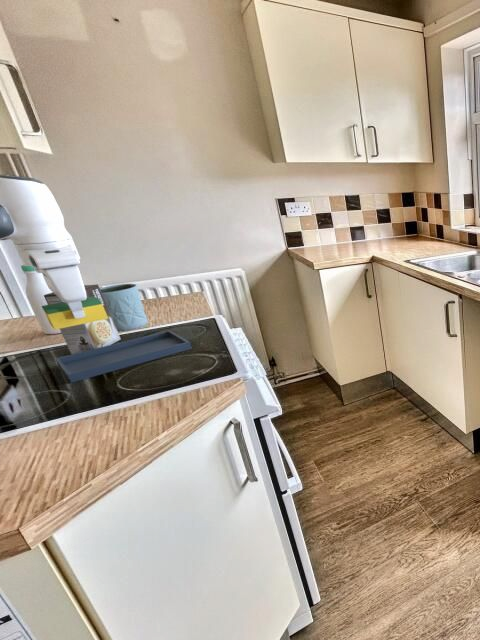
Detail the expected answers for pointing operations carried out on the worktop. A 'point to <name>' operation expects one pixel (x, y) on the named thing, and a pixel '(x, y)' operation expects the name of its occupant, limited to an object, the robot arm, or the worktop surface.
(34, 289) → the milk bottle
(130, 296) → the light blue textured cup
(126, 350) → the tray
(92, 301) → the sponge
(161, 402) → the worktop surface
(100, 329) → the coffee box
